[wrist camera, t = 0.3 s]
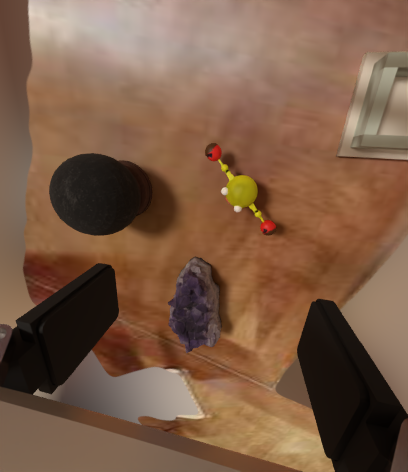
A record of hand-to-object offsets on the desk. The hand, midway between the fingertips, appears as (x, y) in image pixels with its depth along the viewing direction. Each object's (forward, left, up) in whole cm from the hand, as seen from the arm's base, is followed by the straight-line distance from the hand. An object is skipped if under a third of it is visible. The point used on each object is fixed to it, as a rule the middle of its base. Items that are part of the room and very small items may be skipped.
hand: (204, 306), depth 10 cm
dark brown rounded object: (0, -22, -31) cm, 38 cm away
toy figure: (-2, +1, -31) cm, 31 cm away
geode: (+23, -6, -31) cm, 39 cm away
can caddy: (-15, +22, -31) cm, 41 cm away
